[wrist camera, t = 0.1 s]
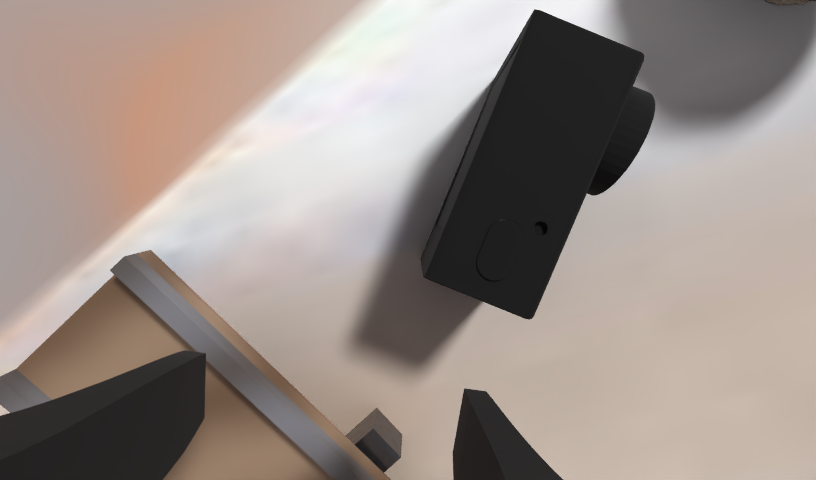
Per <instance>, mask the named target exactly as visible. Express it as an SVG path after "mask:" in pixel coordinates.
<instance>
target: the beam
mask: <svg viewBox="0 0 816 480" xmlns="http://www.w3.org/2000/svg"><path fill="white" fill-rule="evenodd" d="M110 271H111V272H112V273H113V274H114V276H113V277H112V278H111V279H110V280H108V281H107V282H106V283H105V284H104V285H103V286H102V287H101V288H100V289H99V290H98V291H97V292H96V293H95V294H94V295H93V296H92V297H91V298H90V299H89V300H88V301H87V302H86V303H84V304H83V305H82V306H81V307H80V308H79V309H78V310H77V311H76V312H75V313H74V314H73V315H72V316H71V317H70V318H69V319H68V320H67V321H66V322H65V323H64V324H63V325H62V326H60V327H59V328H58V329H57V330H56V331H55V332H54V333H53V334H52V335H51V336H50V337H49V338H48V339H47V340H46V341H45V342H44V343H43V344H42V345H41V346H40V347H39V348H38V349H36V350H35V351H34V352H33V353H32V354H31V355H30V356H29V357H28V358H27V359H26V360H25V361H24V362H23V363H22V364H21V365H20V366H19V367H18V368H17V369H15V370H13V371H11V372H9V373H7V374H5V375H3V376H1V377H0V404H1V405H2V406H3V407H4V408H5V409H6V410H8V411H9V412H10V413H12V412H15V411H19V410H22V409H26V408H29V407H32V406H35V405H38V404H41V403H44V402H47V401H50V400H53V399H56V398H59V397H62V396H64V395H67V394H70V393H73V392H75V391H78V390H81V389H84V388H86V387H89V386H92V385H94V384H97V383H100V382H103V381H105V380H108V379H110V378H113V377H115V376H118V375H120V374H123V373H125V372H128V371H130V370H133V369H135V368H138V367H140V366H143V365H145V364H148V363H150V362H153V361H155V360H158V359H160V358H163V357H166V356H168V355H171V354H174V353H177V352H180V351H184V350H186V351H193V352H201V353H206V379H205V418H204V420H203V422H202V423H201V425H200V427H199V429H198V430H197V432H196V434H195V435H194V437H193V439H192V440H191V442H190V443H189V445H188V447H187V448H186V450H185V451H184V453H183V454H182V456H181V457H180V458H179V460H178V461H177V462H176V463H175V465H174V466H173V467H172V469H171V470H170V471H169V472H168V474H167V475H166V476H165V478H164V479H163V480H391V479H390V478H389V477H388V476H387V475H385V474H384V473H383V472H382V471H381V470H380V469H379V468H378V467H377V466H376V465H375V464H374V463H373V462H372V461H371V460H370V459H369V458H368V457H367V456H366V455H365V454H364V453H362V452H361V451H360V450H359V449H358V448H357V447H356V446H355V445H354V444H353V443H352V442H351V441H350V440H349V439H348V438H347V437H346V436H345V435H344V434H343V433H342V432H340V431H339V430H338V429H337V428H336V427H335V426H334V425H333V424H332V423H331V422H330V421H329V420H328V419H327V418H326V417H325V416H324V415H323V414H322V413H321V412H320V411H319V410H317V409H316V408H315V407H314V406H313V405H312V404H311V403H310V402H309V401H308V400H307V399H306V398H305V397H304V396H303V395H302V394H301V393H300V392H299V391H298V390H297V389H296V388H294V387H293V386H292V385H291V384H290V383H289V382H288V381H287V380H286V379H285V378H284V377H283V376H282V375H281V374H280V373H279V372H278V371H277V370H276V369H275V368H274V367H273V366H271V365H270V364H269V363H268V362H267V361H266V360H265V359H264V358H263V357H262V356H261V355H260V354H259V353H258V352H257V351H256V350H255V349H254V348H253V347H252V346H251V345H249V344H248V343H247V342H246V341H245V340H244V339H243V338H242V337H241V336H240V335H239V334H238V333H237V332H236V331H235V330H234V329H233V328H232V327H231V326H230V325H229V324H228V323H226V322H225V321H224V320H223V319H222V318H221V317H220V316H219V315H218V314H217V313H216V312H215V311H214V310H213V309H212V308H211V307H210V306H209V305H208V304H207V303H206V302H205V301H203V300H202V299H201V298H200V297H199V296H198V295H197V294H196V293H195V292H194V291H193V290H192V289H191V288H190V287H189V286H188V285H187V284H186V283H185V282H184V281H183V280H182V279H180V278H179V277H178V276H177V275H176V274H175V273H174V272H173V271H172V270H171V269H170V268H169V267H168V266H167V265H166V264H165V263H164V262H163V261H162V260H161V259H160V258H159V257H157V256H156V255H155V254H154V253H153V252H152V251H151V250H149V251H145V252H141V253H137V254H133V255H129V256H125V257H123V258H122V259H121V260H120V261H119V262H118V263H117V264H116V265H115V266H114V267H113V268H112V269H111V270H110Z"/></svg>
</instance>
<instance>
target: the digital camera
mask: <svg viewBox="0 0 816 480" xmlns="http://www.w3.org/2000/svg"><path fill="white" fill-rule="evenodd" d="M643 61H644V54H643V53H642V52H639V51H637V50H634V49H632V48H629V47H627V46H625V45H622V44H620V43H617V42H615V41H612V40H610V39H608V38H605V37H603V36H600V35H598V34H596V33H593V32H591V31H588V30H586V29H583V28H581V27H579V26H576V25H574V24H571V23H569V22H566V21H564V20H562V19H559V18H557V17H554V16H552V15H550V14H547V13H545V12H543V11H540V10H534V11H533V13H532V15H531V16H530V18H529V20H528V21H527V23H526V25H525V27H524V28H523V30H522V32H521V33H520V35H519V37H518V39H517V40H516V42H515V44H514V46H513V47H512V49H511V51H510V52H509V54H508V56H507V58H506V59H505V61H504V63H503V65H502V66H501V68H500V70H499V71H498V73H497V75H496V77H495V79H494V82H493V84H492V86H491V89H490V91H489V94H488V96H487V99H486V101H485V103H484V106H483V108H482V111H481V113H480V116H479V118H478V121H477V123H476V125H475V128H474V130H473V133H472V135H471V138H470V140H469V142H468V145H467V147H466V150H465V152H464V155H463V157H462V160H461V162H460V164H459V167H458V169H457V172H456V174H455V177H454V179H453V181H452V184H451V186H450V189H449V191H448V194H447V196H446V199H445V201H444V203H443V206H442V208H441V211H440V213H439V216H438V218H437V220H436V223H435V225H434V228H433V230H432V233H431V235H430V238H429V240H428V242H427V245H426V247H425V250H424V252H423V255H422V257H421V264H422V270H423V276H424V278H427V279H429V280H431V281H433V282H436V283H439V284H441V285H444V286H446V287H449V288H451V289H454V290H456V291H458V292H461V293H463V294H466V295H468V296H471V297H473V298H476V299H478V300H481V301H483V302H486V303H488V304H490V305H493V306H495V307H498V308H500V309H503V310H505V311H508V312H510V313H513V314H515V315H518V316H520V317H522V318H525V319H532V318H533V317H534V315H535V312H536V310H537V308H538V305H539V303H540V301H541V298H542V296H543V294H544V291H545V289H546V287H547V284H548V282H549V280H550V277H551V275H552V273H553V270H554V268H555V266H556V263H557V261H558V259H559V256H560V254H561V252H562V249H563V247H564V245H565V242H566V240H567V238H568V235H569V233H570V231H571V228H572V226H573V224H574V222H575V219H576V217H577V215H578V212H579V210H580V208H581V205H582V203H583V201H584V198H585V196H586V194H587V193H588V194H590V195H598V194H600V193H602V192H604V191H606V190H607V189H608V188H610V187H611V186H612V185H613V184H614V183H615V182H616V181H617V180H618V179H619V178H620V177H621V176H622V175H623V173H624V172H625V171H626V170H627V168H628V167H629V166H630V164H631V163H632V161H633V160H634V158H635V157H636V155H637V154H638V152H639V150H640V148H641V146H642V144H643V143H644V141H645V138H646V136H647V134H648V132H649V129H650V126H651V123H652V120H653V117H654V112H655V100H654V97H653V95H652V94H651V93H649V92H646V91H644V90H641V89H638V88H636V87H633V84H634V82H635V80H636V77H637V75H638V73H639V70H640V68H641V66H642V63H643Z"/></svg>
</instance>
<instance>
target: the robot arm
mask: <svg viewBox="0 0 816 480" xmlns="http://www.w3.org/2000/svg"><path fill="white" fill-rule="evenodd" d="M205 379H206V353H201V352H193V351H186V350H184V351H180V352H177V353H174V354H171V355H168V356H166V357H163V358H160V359H158V360H155V361H153V362H150V363H148V364H145V365H143V366H140V367H138V368H135V369H133V370H130V371H128V372H125V373H123V374H120V375H118V376H115V377H113V378H110V379H108V380H105V381H103V382H100V383H97V384H94V385H92V386H89V387H86V388H84V389H81V390H78V391H75V392H73V393H70V394H67V395H64V396H62V397H59V398H56V399H53V400H50V401H47V402H44V403H41V404H38V405H35V406H32V407H29V408H26V409H22V410H19V411H15V412H12V413H9V414H5V415H2V416H0V480H163V479H164V478H165V476H166V475H167V474H168V472H169V471H170V470H171V469H172V467H173V466H174V465H175V463H176V462H177V461H178V460H179V458H180V457H181V456H182V454H183V453H184V451H185V450H186V448H187V447H188V445H189V443H190V442H191V440H192V439H193V437H194V435H195V434H196V432H197V430H198V429H199V427H200V425H201V423H202V422H203V420H204V418H205ZM453 474H454V480H563V479H562V478H561V477H560V476H559V475H558V474H557V473H556V472H555V471H554V470H553V469H552V468H551V467H550V466H549V465H548V464H547V463H546V462H545V461H544V460H543V459H542V458H541V457H540V456H539V455H538V454H537V453H536V451H535V450H534V449H533V448H532V447H531V446H530V445H529V444H528V442H527V441H526V440H525V439H524V438H523V437H522V435H521V434H520V433H519V432H518V431H517V430H516V428H515V427H514V426H513V425H512V423H511V422H510V421H509V420H508V418H507V417H506V416H505V415H504V413H503V412H502V411H501V410H500V408H499V407H498V406H497V404H496V403H495V402H494V400H493V399H492V398H491V397H490V395H489V394H488V393H487V392H486V391H479V390H471V389H464V393H463V399H462V404H461V410H460V415H459V421H458V426H457V432H456V438H455V443H454V449H453Z"/></svg>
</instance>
